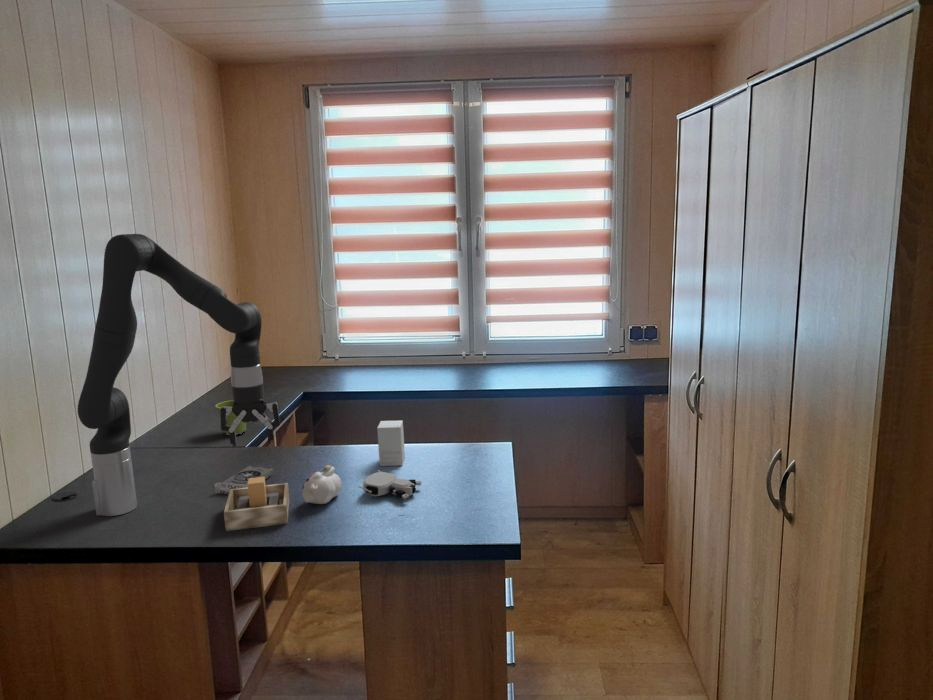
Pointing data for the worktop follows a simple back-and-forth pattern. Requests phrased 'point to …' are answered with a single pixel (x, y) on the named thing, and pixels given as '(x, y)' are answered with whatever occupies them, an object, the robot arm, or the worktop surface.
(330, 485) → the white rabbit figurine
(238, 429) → the plant pot
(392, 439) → the supplement box
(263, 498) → the orange rectangular block
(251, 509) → the walled box
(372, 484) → the robot toy
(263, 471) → the graphics card
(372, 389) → the worktop surface
